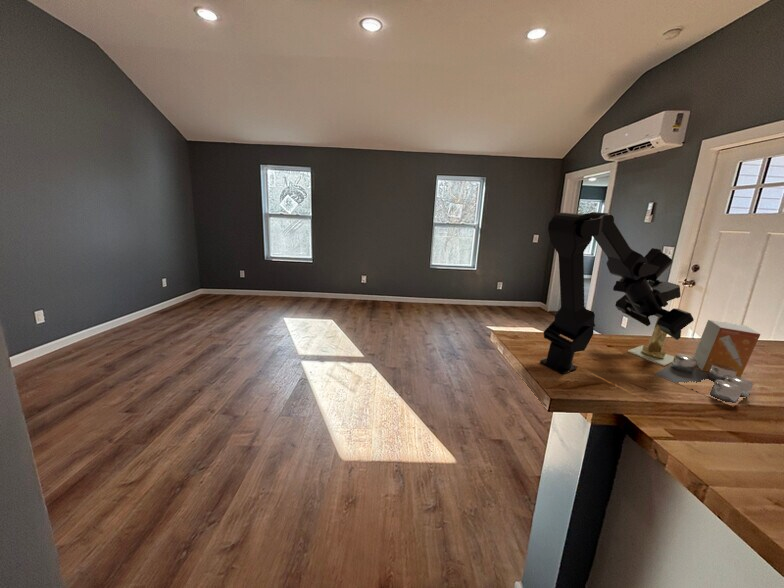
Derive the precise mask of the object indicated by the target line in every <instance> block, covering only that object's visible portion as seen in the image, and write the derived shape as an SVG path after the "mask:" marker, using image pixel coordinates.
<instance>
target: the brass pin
mask: <svg viewBox="0 0 784 588" xmlns="http://www.w3.org/2000/svg"><path fill="white" fill-rule="evenodd" d="M659 319H660V318H659V317H657V319H656V323H655V326H654V328H653V331H652V334H651V337H650V341H649V342H648V343H649V344H648V345H643V349H642V353H643V354H645V355H647V356H649V357H652V358H657V359H664V357H665V354H667V353H666V351H665V350H663V347H664V344H665V341H666V339H667V335H668V334H666V333H665V332H663V331H662V330H660V329H661V328H660V327H659V326H658V325H657V323H658V320H659Z"/></svg>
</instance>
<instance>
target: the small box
mask: <svg viewBox="0 0 784 588" xmlns="http://www.w3.org/2000/svg"><path fill="white" fill-rule="evenodd" d="M760 336H761V333H760V332H757V331H756V330H754V329H752V328H751V327H749V326H747V325H742V324H737V323H732V322H725V321H718V320H712V319H711V320H710V319H707V322H706V324H705V327H704V330H703V331H702V335H701V337H700V339H699V342H698V344H697V347H696V349H695V352H694V355H693V356H692V357H693V358H695V359H696V360H697V363H696V366H697V368H699V370H700V371H703V372H706V373H709V372H710V369H711V367H712V365H713V364H719V365H723V366H727V367H729V368H732V369H734V370H735V371H736V372H737V373H736V376H738V377H742V375H743V373H744V371H745V370H746V367H747V365H748V362H749V361H750V358H751V356H752V354H753V352H754V349H755V347H756V346H757V344H758V340H759V338H760Z"/></svg>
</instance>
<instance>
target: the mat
mask: <svg viewBox="0 0 784 588" xmlns="http://www.w3.org/2000/svg"><path fill="white" fill-rule="evenodd" d="M671 365H672V364H669V365H667V366H665V367H664V368H662V369H660V370H657V371H656V372H654V373H653V375H654V376H656V377H660V378H661V379H665V380H666V381H669V382H671V383H674V384H676V385H678V384H677V383H679V382H684V383H685V382H686V383H687V382H689V381H691V382H692V381H693V382H695V381H696V383H697V382H701V380H703V379H704V380H705V379H708V378H707V376H708V374H709V372H706V371H702V370H701V369H697V368H694V371H693V373H692V374H686V373H682V372H679V371H677V370H675V369H673V368H672V367H671Z"/></svg>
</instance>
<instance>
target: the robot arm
mask: <svg viewBox="0 0 784 588" xmlns="http://www.w3.org/2000/svg"><path fill="white" fill-rule="evenodd" d="M547 232H548V237H549V241H550V243H551V245H552V246H553V248H554V249H555V251H556V252H557V254H558V255H557V256H558V269H559V290H560V293H559V294H560V308H559V309H558V311H557V312H555V314H554V321H551V323H550V324H549V326H547V327H546V329H544V331H543V339H545V340H547V341H549V342H550V344H549V348H548V351H547V352H548V353H547V356H546V358H543V359H541V360H539V363H541V364H543V365H544V366H546V367H547V368H550V369H552V370H553V371H556V372H557V371H558V372H557V373H559V372H560V374H561V373H564V374H566V373H565V372H567V373H569V372H568V371H570V372H572V371H571V370H573V371H575V370H577V368H578V366H576V365H574V364H573V361H574V356H575V354H576V353H577V352H584V351H586V349H587V346H588V345H589V343H590V341H591V339H592V337H593V335H594V328H595V327H596V324H595V316H596V315H595V311H592V310H590V309H587V308H586V307H585V270H584V269H585V263H584V262H585V261H584V260H585V259H584V257H585V256H584V254H585V253H584V252H585V250H586V249H587V247H588V246H589V245H590V243H591V242H592V239H593V238H594V240H595V241H596V243H597V244H598V245H599V247H600V249H601V250H602V252H604V254H605V255H606V257H607V261H606V266H607V269H608V272H609V273H610V274H611V275H613V276H617V277H620V279H619V280H617V281H615V284H614V286H613V288H612V290H613V291H614V292H620V293H623V294H624V295H623V296H621V298H619V299H618V300H617V301H616V302H615V308H616V309H617V311H620V312H622V314H625V315H627V316H629V317H630V318H632V319H634V320H635V321H638V322H639V323H641V324H643V325H644V326H647V327H649V326H651V325H652V324H651V321H650V317H651V316H653V317H654V316H655V317H657V318H658V317H659V318H660V319H659V320H658V323H657V325H658V326H659V327H660V328H661V329H660V330H662V331H663V332H665V333H666V334H667V335H668V336H670V337H672V339H674V340H679V339H681V336H682V335H681V334H682V330H683V329H685V328H686V327H687V326H688V325H690V324H691V323H693V322H694V317H693V315H692V314H691V312H688V311H685V310H682V309H680V308H672V309H671V310H667V309H665V307H667V306H668V305H669V302H670V301H672V300H674V299H678V298H681V297H682V296H681V295H682V294H681V285H680V284H678V283H677V284H676V283H673V282H669V281H662V280H661V281H660V280H659V279H658V278H660V277H661V276H662V275H663V273H665V271H666V270H668V268H669V267H671V265H672V264H673V259H672V258H671V257H670V256H669V255H667V254H666V253H664V252H663V251H662V250H661V249H660V248H653V247H652V248H651V249H650V250H649V251H648V252H647V254H646V255H645V256H644V255H643V254H641V253H639V252H638V251H636V250H635V249H632V248H631V247H630V245H629V243H628V242H627V240H626V239H625V236H623V234H622V233H621V231H620V229H619V228H618V227H617V225H616V223H615V217H614V216H613V214H610V213H609V212H598V211H597V212H596V211H591V212H586V213H573V212H572V213H570V212H558V213H556V214H555V215H554V216H552V218H551V220H550V221H549V222H548V225H547ZM561 335H562V336H561ZM567 338H568V339H567ZM569 339H570V340H569ZM574 369H575V370H574Z"/></svg>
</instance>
